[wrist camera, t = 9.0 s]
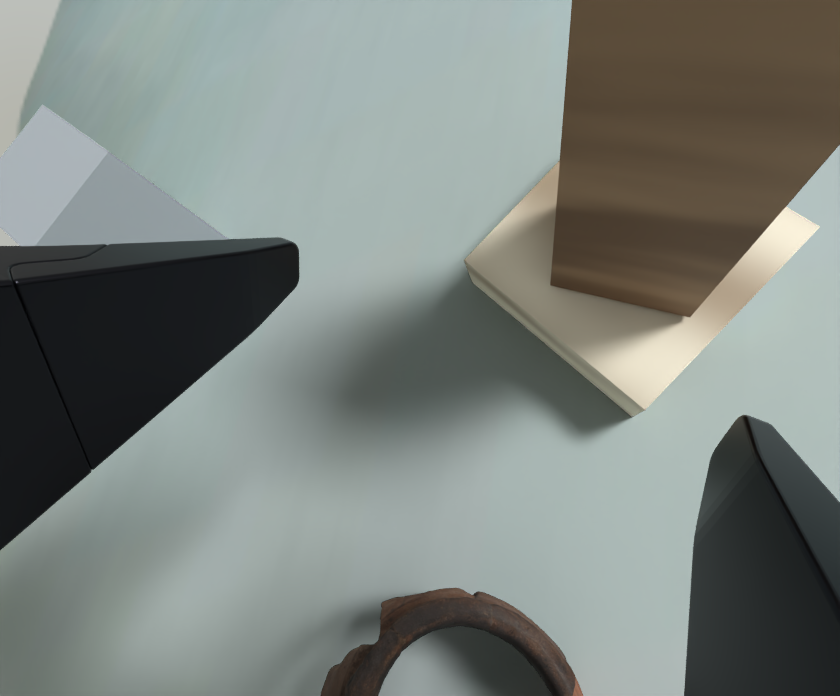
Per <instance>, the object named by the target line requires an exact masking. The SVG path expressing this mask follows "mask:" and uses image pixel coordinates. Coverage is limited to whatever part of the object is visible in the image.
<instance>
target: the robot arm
mask: <svg viewBox="0 0 840 696" xmlns="http://www.w3.org/2000/svg"><path fill="white" fill-rule="evenodd" d="M298 281H299V249H298V247H297V245H296V244H295V243H294V242H291V241H289V240H286V239H283V238H252V239H226V240H200V241H173V242H147V243H121V244H109V245H106V244H93V245H61V246H0V550H1V549H2V548H4V547H5V546H6V545H7V544H8V543H9V542H11V541H12V540H13V539H14V538H15V537H16V536H18V535H19V534H20V533H21V532H22V531H23V530H24V529H26V528H27V527H28V526H29V525H30V524H31V523H33V522H34V521H35V520H36V519H37V518H38V517H40V516H41V515H42V514H43V513H44V512H45V511H47V510H48V509H49V508H50V507H51V506H52V505H54V504H55V503H56V502H57V501H58V500H59V499H61V498H62V497H63V496H64V495H65V494H66V493H67V492H69V491H70V490H71V489H72V488H73V487H74V486H76V485H77V484H78V483H79V482H80V481H81V480H83V479H84V478H85V477H86V476H87V475H88V474H90V473H91V470H93V469H95V468H96V467H97V466H98V465H99V464H101V463H102V462H103V461H104V460H105V459H106V458H108V457H109V456H110V455H111V454H112V453H113V452H115V451H116V450H117V449H118V448H119V447H120V446H122V445H123V444H124V443H125V442H126V441H127V440H129V439H130V438H131V437H132V436H133V435H134V434H135V433H137V432H138V431H139V430H140V429H141V428H142V427H144V426H145V425H146V424H147V423H148V422H149V421H151V420H152V419H153V418H154V417H155V416H156V415H158V414H159V413H160V412H161V411H162V410H163V409H165V408H166V407H167V406H168V405H169V404H170V403H172V402H173V401H174V400H175V399H176V398H177V397H179V396H180V395H181V394H182V393H183V392H184V391H185V390H187V389H188V388H189V387H190V386H191V385H192V384H194V383H195V382H196V381H197V380H198V379H199V378H201V377H202V376H203V375H204V374H205V373H206V372H208V371H209V370H210V369H211V368H212V367H213V366H215V365H216V364H217V363H218V362H219V361H220V360H222V359H223V358H224V357H225V356H226V355H227V354H229V353H230V352H231V351H232V350H233V349H234V348H235V347H237V346H238V345H239V344H240V343H241V342H242V341H244V340H245V339H246V338H247V337H248V336H249V335H250V334H252V333H253V332H254V331H255V330H256V329H257V328H258V327H259V326H260V325H261V324H262V323H263V322H264V321H265V320H266V318H267V317H268V316H269V315H270V314H271V313H272V312H273V311H274V310H275V309H276V308H277V307H278V306H279V305H280V304H281V303H282V302H283V300H284V299H285V298H286V297H287V296H288V295H289V294H290V293H291V292H292V291H293V290H294V289H295V288H296V286H297V284H298ZM684 696H840V502H839V501H838V500H837V499H836V498H835V497H834V495H833V494H832V493H831V492H830V491H829V490H828V489H827V487H826V486H825V485H824V484H823V483H822V482H821V481H820V479H819V478H818V477H817V476H816V475H815V474H814V473H813V471H812V470H811V469H810V468H809V467H808V466H807V465H806V464H805V462H804V461H803V460H802V459H801V458H800V457H799V456H798V454H797V453H796V452H795V451H794V450H793V449H792V448H791V446H790V445H789V444H788V443H787V442H786V441H785V440H784V438H783V437H782V436H781V435H780V434H779V433H778V432H777V431H776V429H775V428H774V427H773V426H772V425H771V424H769V423H767V422H764V421H761V420H759V419H756V418H753V417H751V416H748V415H742V416H740V417H739V418H738V419H736V421H735V422H734V423H733V425H732V426H731V428H730V429H729V430H728V432H727V433H726V434H725V436H724V437H723V439H722V440H721V441H720V443H719V444H718V446H717V447H716V448H715V450H714V452H713V454H712V457H711V459H710V463H709V468H708V473H707V478H706V482H705V487H704V492H703V496H702V501H701V506H700V511H699V515H698V520H697V525H696V530H695V536H694V546H693V560H692V576H691V593H690V609H689V625H688V642H687V658H686V674H685V691H684Z"/></svg>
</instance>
